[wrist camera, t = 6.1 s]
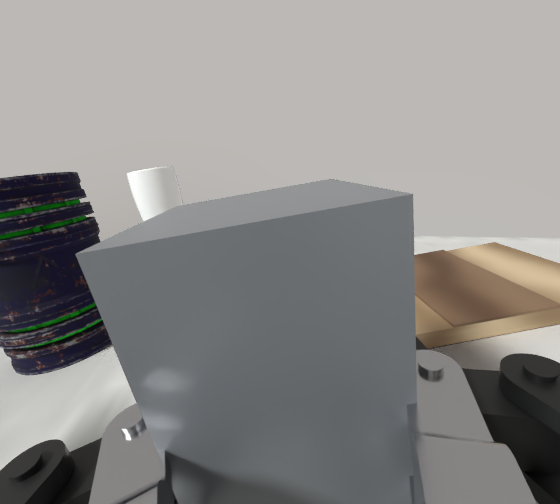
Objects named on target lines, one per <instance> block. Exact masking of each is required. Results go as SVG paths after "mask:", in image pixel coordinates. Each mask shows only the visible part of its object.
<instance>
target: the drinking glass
mask: <svg viewBox="0 0 560 504" xmlns="http://www.w3.org/2000/svg"><path fill="white" fill-rule="evenodd" d="M127 178H128V181H129V185H130V189H131V192H132V195H133V197H134V200H135V203H136V206H137V208H138V210H139V213H140V215H141V217H142V220H143V222H144V221H146V220H148V219H150V218H152V217H155V216H157V215H159V214H161V213H163V212H165V211H167V210H169V209H172V208H174V207H176V206H181V205H183V202H182V196H181V192H180V188H179V184H178V180H177V177H176V174H175V171H174V168H173V166H166V167H158V168H152V169H145V170H139V171H134V172H130V173H127Z"/></svg>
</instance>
